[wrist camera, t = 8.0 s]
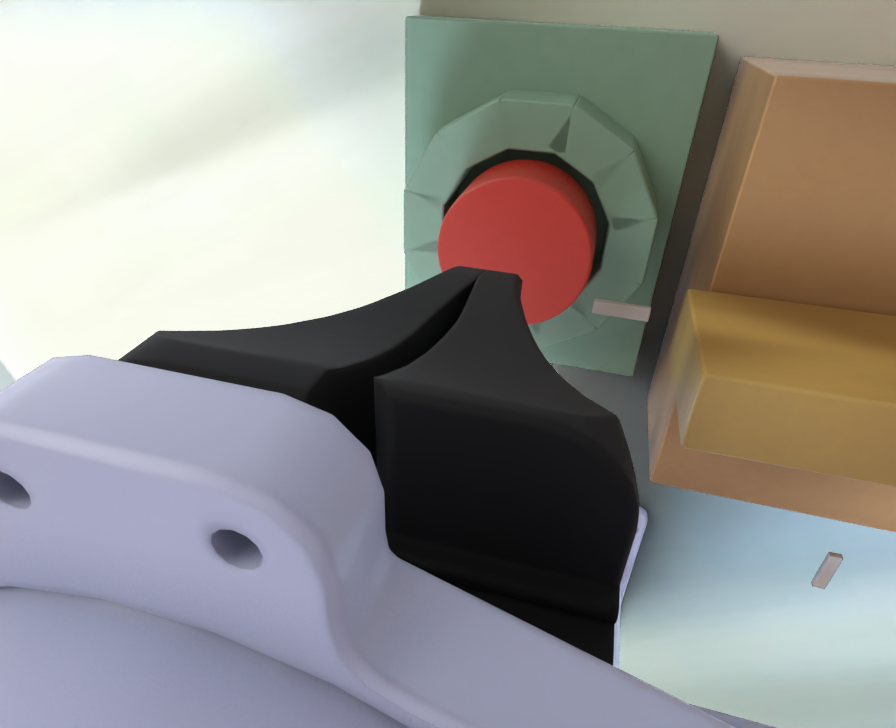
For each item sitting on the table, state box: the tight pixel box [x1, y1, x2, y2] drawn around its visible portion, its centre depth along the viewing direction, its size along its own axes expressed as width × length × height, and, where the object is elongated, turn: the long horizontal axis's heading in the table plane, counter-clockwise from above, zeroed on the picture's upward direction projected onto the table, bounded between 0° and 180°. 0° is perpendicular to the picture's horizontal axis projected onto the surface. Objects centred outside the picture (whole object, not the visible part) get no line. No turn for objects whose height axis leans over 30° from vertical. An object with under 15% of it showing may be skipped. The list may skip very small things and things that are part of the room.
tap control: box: [404, 15, 719, 377], centre depth 17 cm, size 10×8×3 cm
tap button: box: [438, 159, 597, 325], centre depth 16 cm, size 4×4×2 cm
